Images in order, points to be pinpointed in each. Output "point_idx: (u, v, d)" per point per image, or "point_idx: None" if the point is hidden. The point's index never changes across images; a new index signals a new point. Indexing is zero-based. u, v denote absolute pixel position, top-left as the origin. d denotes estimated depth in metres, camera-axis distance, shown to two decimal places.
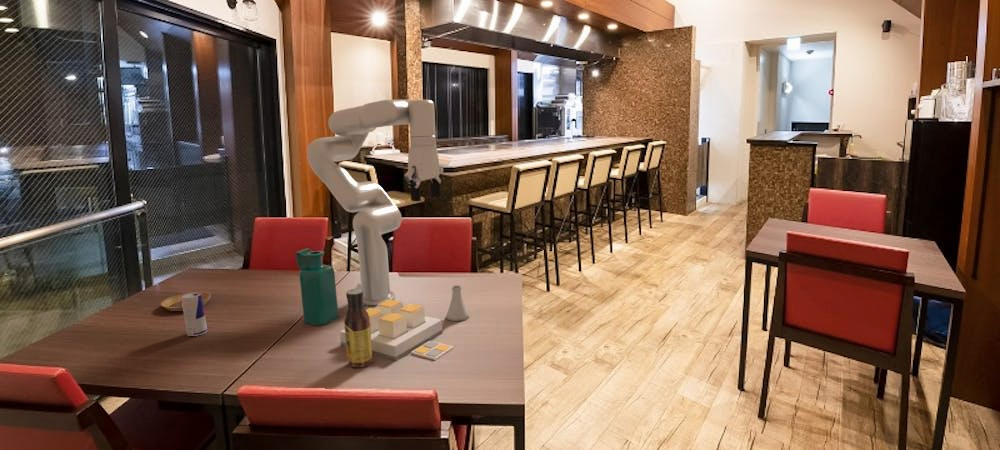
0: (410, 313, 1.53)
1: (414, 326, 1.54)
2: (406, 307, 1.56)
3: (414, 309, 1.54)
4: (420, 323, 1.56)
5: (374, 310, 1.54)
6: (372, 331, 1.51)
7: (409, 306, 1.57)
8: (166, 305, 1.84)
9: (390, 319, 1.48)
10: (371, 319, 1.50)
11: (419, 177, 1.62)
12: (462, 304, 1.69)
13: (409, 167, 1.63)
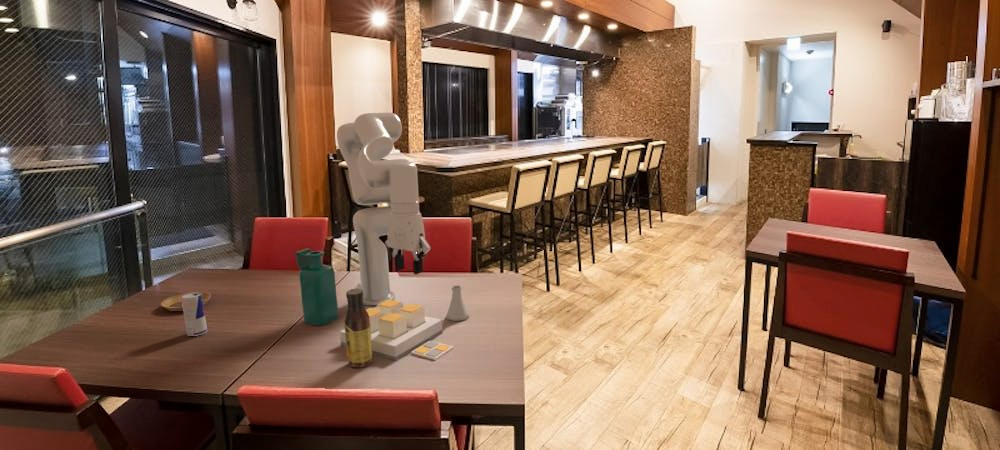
0: (410, 313, 1.53)
1: (414, 326, 1.54)
2: (406, 307, 1.56)
3: (414, 309, 1.54)
4: (420, 323, 1.56)
5: (374, 310, 1.54)
6: (372, 331, 1.51)
7: (409, 306, 1.57)
8: (166, 305, 1.84)
9: (390, 319, 1.48)
10: (371, 319, 1.50)
11: None
12: (462, 304, 1.69)
13: (417, 236, 1.47)
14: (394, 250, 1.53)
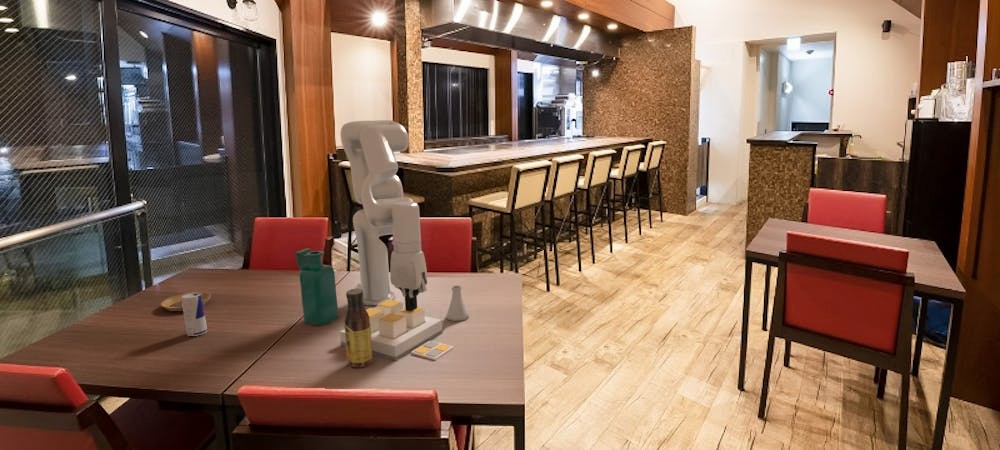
0: (410, 315, 1.53)
1: (414, 327, 1.54)
2: None
3: (414, 311, 1.54)
4: None
5: (374, 310, 1.54)
6: (372, 331, 1.51)
7: None
8: (166, 305, 1.84)
9: (390, 319, 1.48)
10: (371, 319, 1.50)
11: None
12: (462, 304, 1.69)
13: (419, 275, 1.49)
14: (402, 289, 1.54)
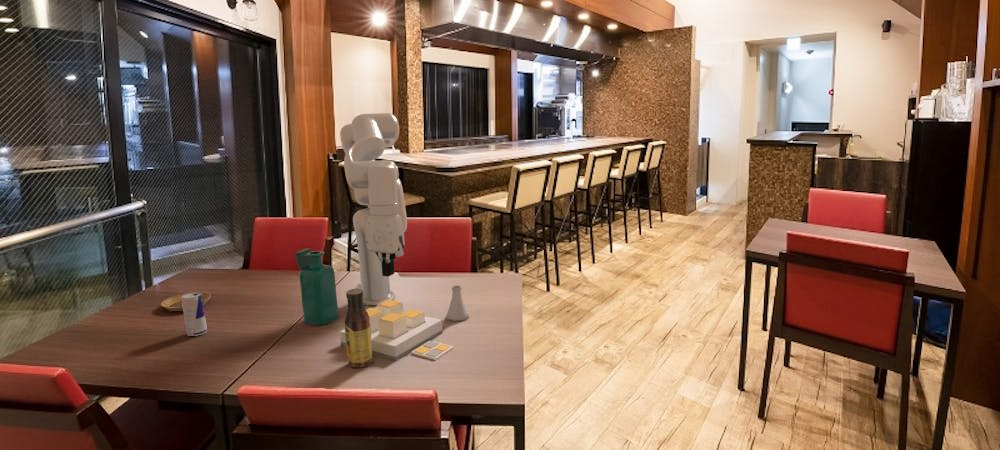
0: (410, 319, 1.53)
1: None
2: (406, 313, 1.56)
3: (414, 315, 1.54)
4: None
5: (374, 310, 1.54)
6: (372, 331, 1.51)
7: (410, 311, 1.57)
8: (166, 305, 1.84)
9: (390, 319, 1.48)
10: (371, 319, 1.50)
11: None
12: (462, 304, 1.69)
13: (396, 239, 1.46)
14: (379, 254, 1.50)
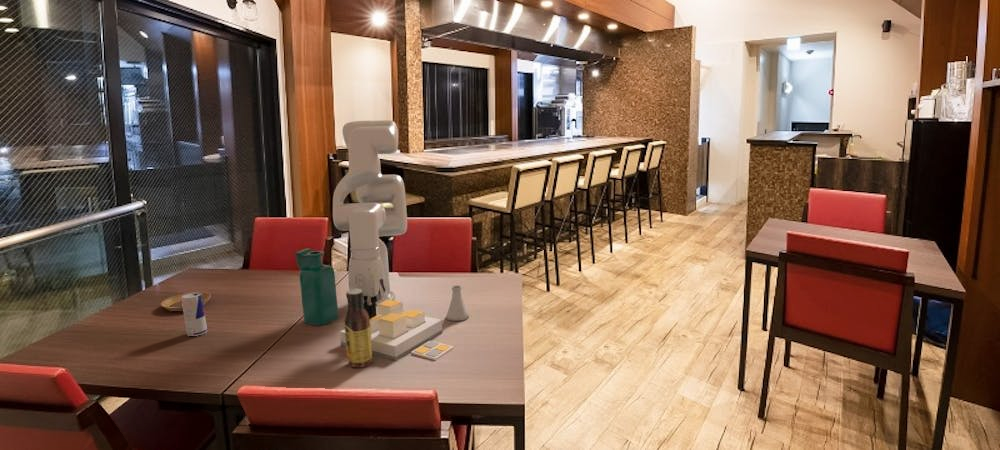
0: (410, 319, 1.53)
1: None
2: (406, 313, 1.56)
3: (414, 315, 1.54)
4: None
5: None
6: None
7: (410, 311, 1.57)
8: (166, 305, 1.84)
9: (390, 319, 1.48)
10: (371, 324, 1.50)
11: (385, 289, 1.50)
12: (462, 304, 1.69)
13: (376, 282, 1.47)
14: None
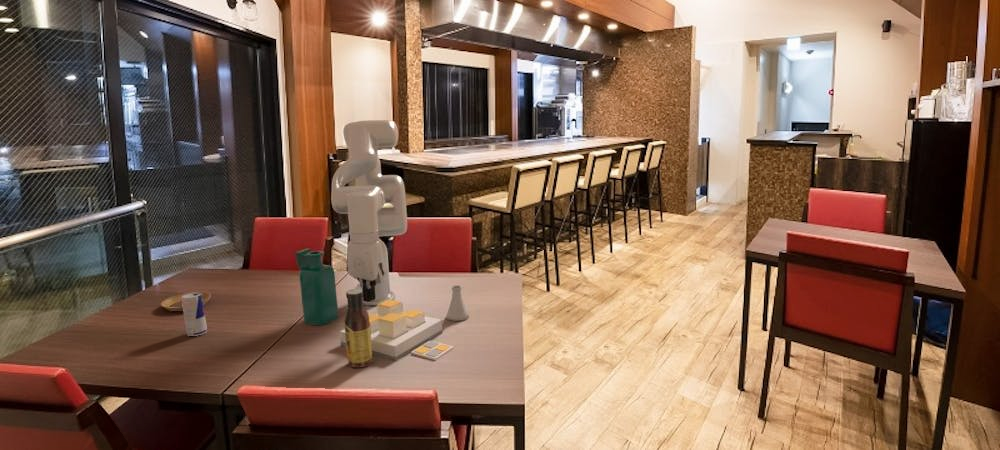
0: (410, 319, 1.53)
1: None
2: (406, 313, 1.56)
3: (414, 315, 1.54)
4: None
5: (374, 316, 1.55)
6: None
7: (410, 311, 1.57)
8: (166, 305, 1.84)
9: (390, 319, 1.48)
10: (371, 325, 1.50)
11: (384, 272, 1.50)
12: (462, 304, 1.69)
13: (375, 266, 1.47)
14: (360, 280, 1.51)
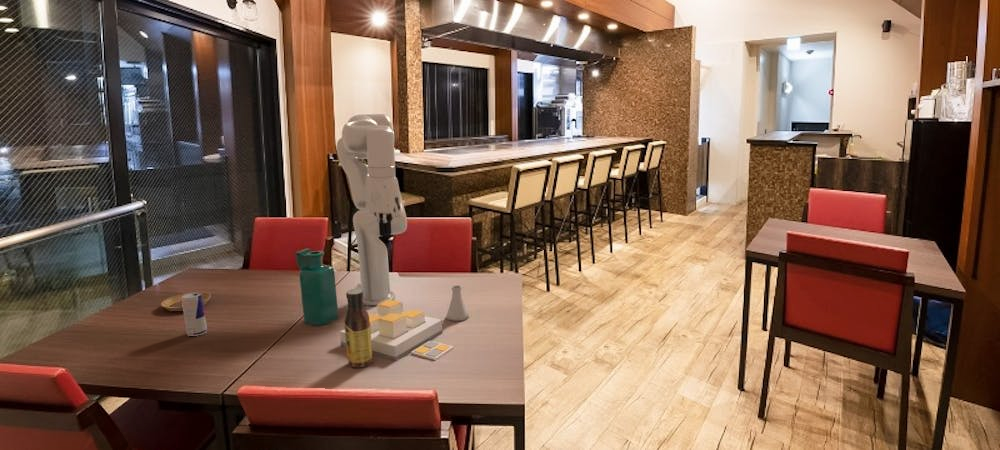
0: (410, 319, 1.53)
1: None
2: (406, 313, 1.56)
3: (414, 315, 1.54)
4: None
5: (374, 316, 1.55)
6: None
7: (410, 311, 1.57)
8: (166, 305, 1.84)
9: (390, 319, 1.48)
10: (371, 325, 1.50)
11: (400, 207, 1.57)
12: (462, 304, 1.69)
13: (392, 200, 1.53)
14: (377, 215, 1.58)
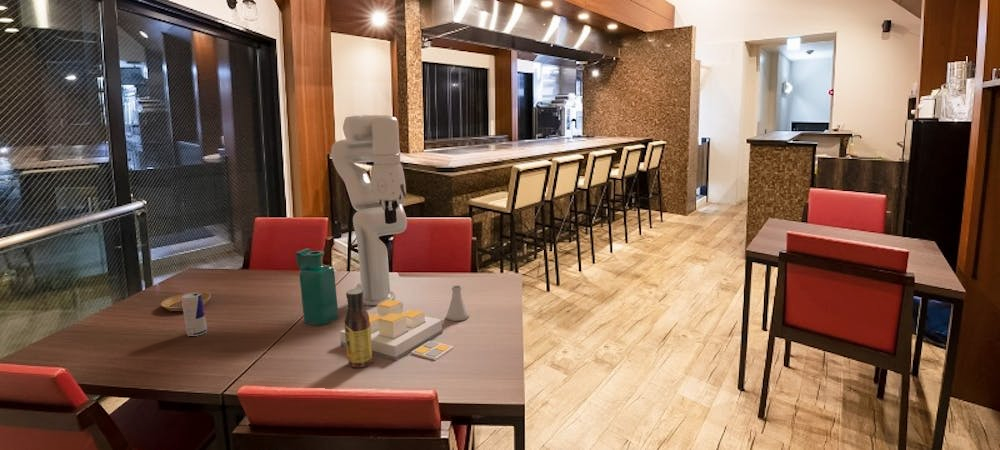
0: (410, 319, 1.53)
1: None
2: (406, 313, 1.56)
3: (414, 315, 1.54)
4: None
5: (374, 316, 1.55)
6: None
7: (410, 311, 1.57)
8: (166, 305, 1.84)
9: (390, 319, 1.48)
10: (371, 325, 1.50)
11: (405, 195, 1.59)
12: (462, 304, 1.69)
13: (397, 187, 1.55)
14: (382, 203, 1.60)
